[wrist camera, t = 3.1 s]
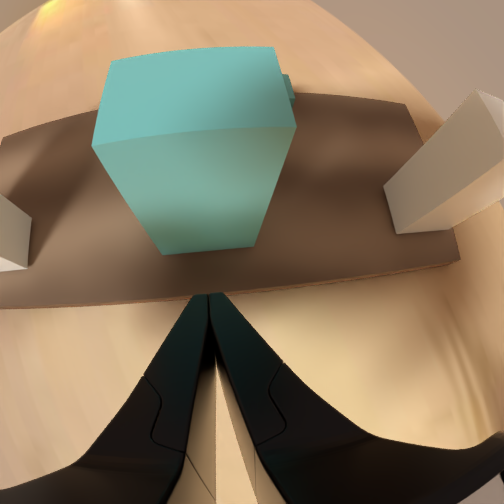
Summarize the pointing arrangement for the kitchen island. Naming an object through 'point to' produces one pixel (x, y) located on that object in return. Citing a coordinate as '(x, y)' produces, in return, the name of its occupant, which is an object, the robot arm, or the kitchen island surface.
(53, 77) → the kitchen island surface
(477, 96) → the grey key
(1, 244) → the grey key
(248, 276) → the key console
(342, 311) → the kitchen island surface
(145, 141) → the teal key
